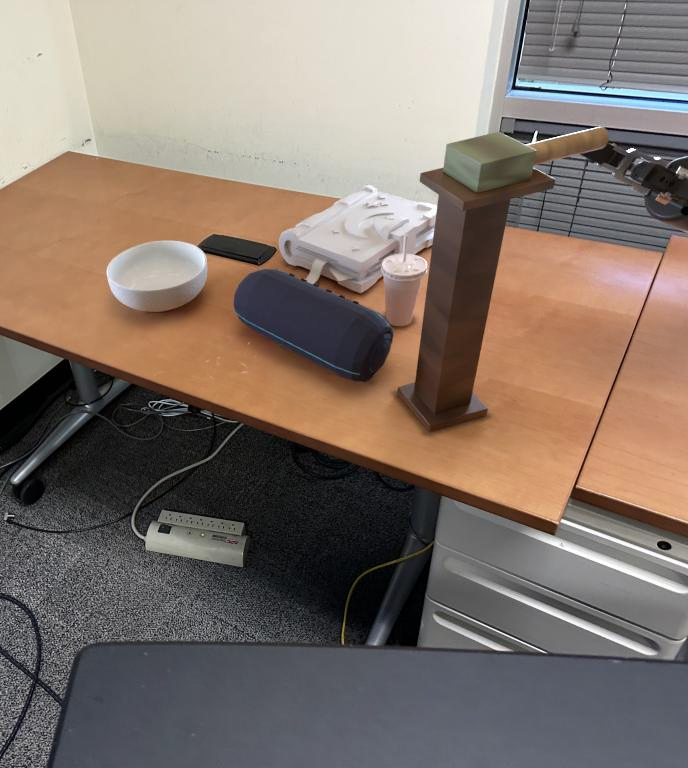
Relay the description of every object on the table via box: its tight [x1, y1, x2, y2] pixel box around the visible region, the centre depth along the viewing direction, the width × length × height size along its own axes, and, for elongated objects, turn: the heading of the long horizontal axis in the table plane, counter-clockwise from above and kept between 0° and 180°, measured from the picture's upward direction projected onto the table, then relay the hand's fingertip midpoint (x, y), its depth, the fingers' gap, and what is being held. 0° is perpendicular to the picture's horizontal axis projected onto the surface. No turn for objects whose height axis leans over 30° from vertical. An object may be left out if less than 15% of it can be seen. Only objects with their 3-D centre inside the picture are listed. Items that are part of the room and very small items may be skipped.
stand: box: [396, 166, 556, 433], centre depth 80 cm, size 10×8×31 cm
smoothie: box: [381, 234, 428, 327], centre depth 100 cm, size 6×6×14 cm
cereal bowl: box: [106, 239, 208, 313], centre depth 115 cm, size 17×17×7 cm
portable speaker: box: [232, 268, 394, 383], centre depth 98 cm, size 25×10×10 cm, turn 40°
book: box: [278, 184, 437, 294], centre depth 118 cm, size 19×28×8 cm
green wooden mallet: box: [442, 126, 610, 193], centre depth 70 cm, size 16×6×3 cm, turn 105°
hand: (614, 157), depth 73 cm, fingers open, 8 cm apart
